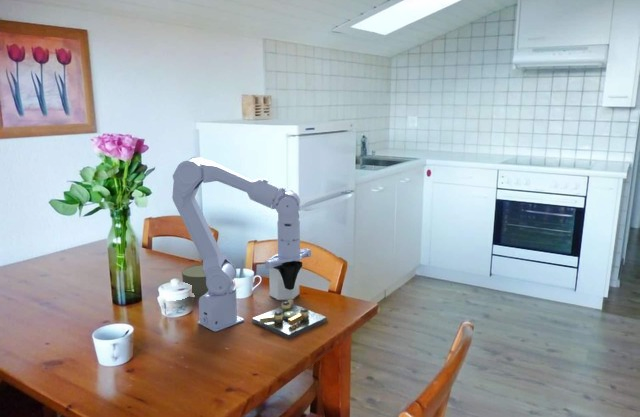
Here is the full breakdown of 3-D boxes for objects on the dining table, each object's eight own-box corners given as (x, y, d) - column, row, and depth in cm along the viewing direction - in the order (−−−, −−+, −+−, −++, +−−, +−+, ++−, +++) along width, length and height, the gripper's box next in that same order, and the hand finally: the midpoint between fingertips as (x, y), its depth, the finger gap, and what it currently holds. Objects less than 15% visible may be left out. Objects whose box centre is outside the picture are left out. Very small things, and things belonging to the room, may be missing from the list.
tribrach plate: (288, 338, 126) (288, 328, 125) (252, 322, 135) (252, 312, 135) (326, 321, 136) (326, 311, 135) (290, 307, 145) (290, 298, 145)
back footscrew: (289, 312, 138) (289, 304, 137) (280, 312, 138) (280, 303, 138) (295, 304, 143) (295, 296, 143) (287, 303, 144) (287, 295, 143)
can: (176, 290, 158) (175, 269, 157) (211, 281, 166) (210, 261, 164) (193, 302, 149) (191, 279, 148) (229, 292, 156) (228, 271, 155)
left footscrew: (282, 318, 134) (281, 310, 133) (284, 322, 132) (283, 313, 131) (259, 321, 132) (259, 312, 132) (261, 325, 130) (260, 316, 130)
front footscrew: (303, 315, 136) (303, 307, 136) (310, 317, 135) (310, 309, 134) (286, 324, 131) (286, 315, 130) (293, 326, 129) (293, 318, 129)
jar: (270, 301, 150) (269, 262, 147) (269, 291, 158) (268, 253, 155) (300, 299, 151) (300, 260, 148) (298, 289, 159) (297, 252, 156)
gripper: (278, 247, 123) (279, 300, 126) (319, 235, 133) (319, 285, 136) (259, 241, 128) (260, 292, 131) (300, 231, 138) (300, 278, 141)
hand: (289, 288), depth 134 cm, fingers closed
